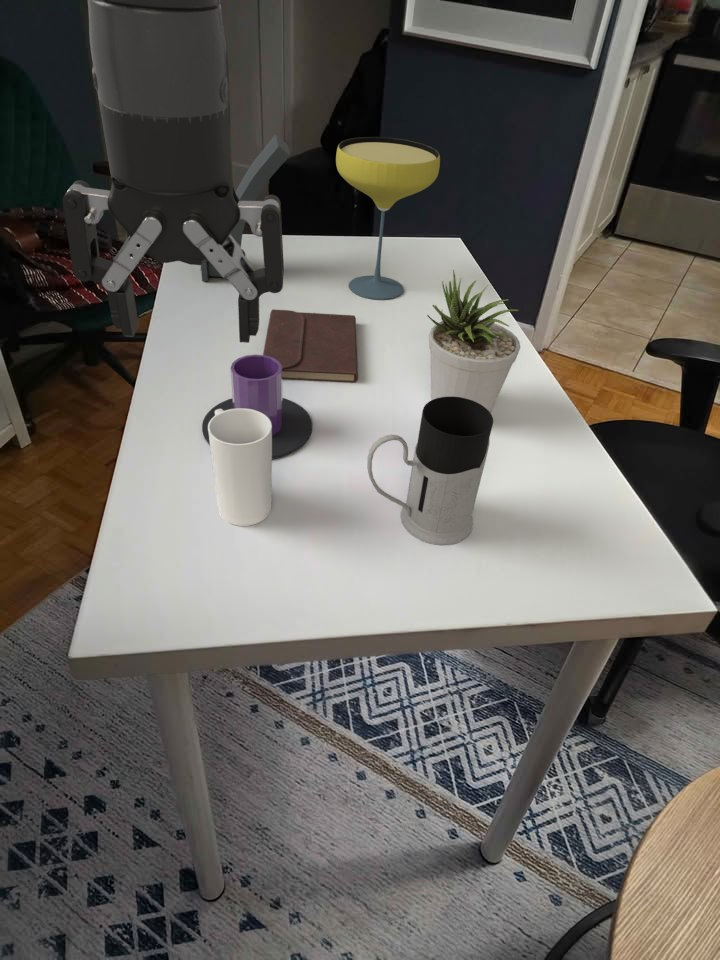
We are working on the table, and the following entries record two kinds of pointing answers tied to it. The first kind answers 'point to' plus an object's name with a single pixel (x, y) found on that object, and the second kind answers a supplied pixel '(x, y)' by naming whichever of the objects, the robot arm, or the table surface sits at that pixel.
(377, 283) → the cocktail glass
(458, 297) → the potted plant
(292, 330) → the notebook
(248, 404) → the cup
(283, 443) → the mat
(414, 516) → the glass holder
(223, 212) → the robot arm
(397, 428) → the table surface
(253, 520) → the mug
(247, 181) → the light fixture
